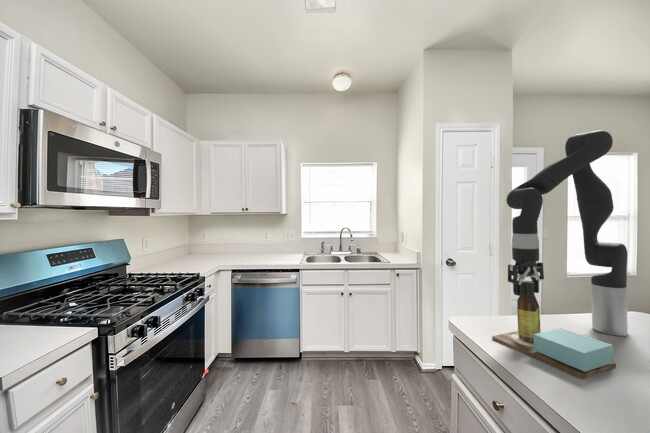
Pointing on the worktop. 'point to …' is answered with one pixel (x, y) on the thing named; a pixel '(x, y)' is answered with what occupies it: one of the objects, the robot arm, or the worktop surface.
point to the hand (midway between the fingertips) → (526, 293)
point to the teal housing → (573, 349)
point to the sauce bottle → (528, 313)
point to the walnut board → (528, 348)
